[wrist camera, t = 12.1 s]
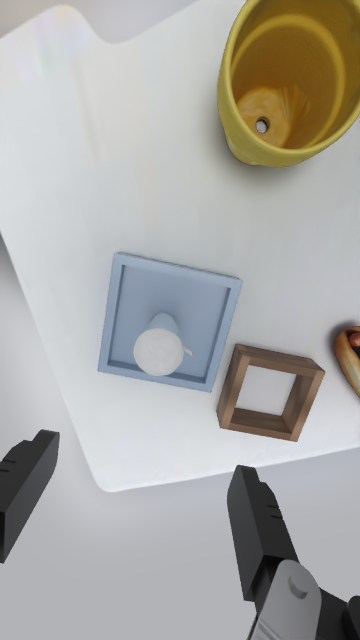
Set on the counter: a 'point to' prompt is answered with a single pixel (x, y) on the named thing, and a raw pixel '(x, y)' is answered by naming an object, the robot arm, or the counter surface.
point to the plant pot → (290, 78)
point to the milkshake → (160, 346)
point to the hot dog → (350, 355)
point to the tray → (174, 299)
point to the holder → (295, 406)
